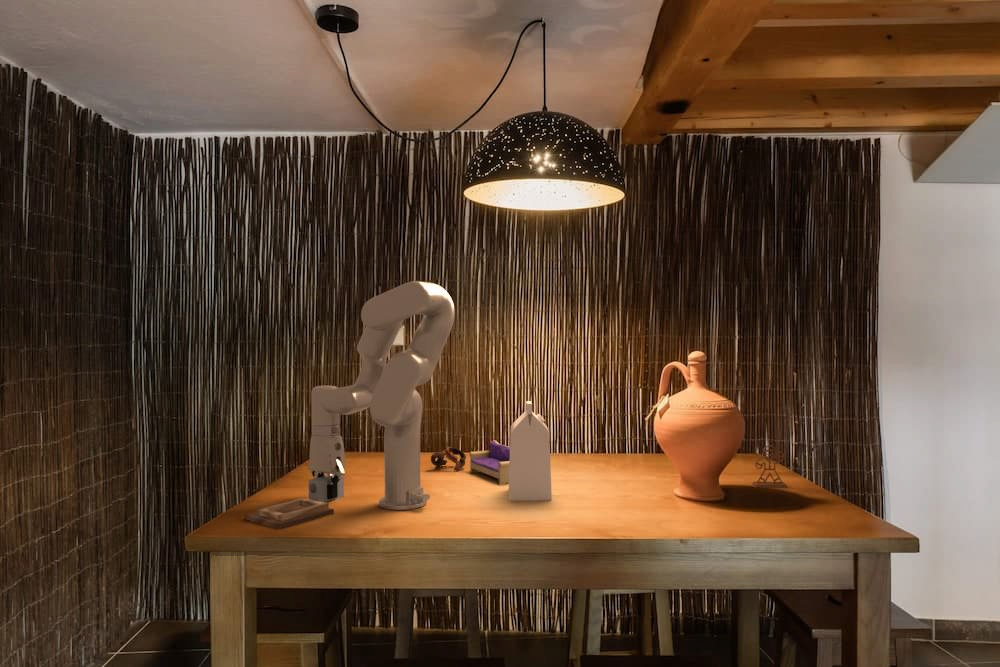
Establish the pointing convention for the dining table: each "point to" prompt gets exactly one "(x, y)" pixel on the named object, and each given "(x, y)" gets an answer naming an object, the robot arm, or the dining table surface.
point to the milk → (529, 458)
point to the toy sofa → (492, 461)
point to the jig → (290, 513)
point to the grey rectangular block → (323, 489)
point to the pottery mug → (450, 456)
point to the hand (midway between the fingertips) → (326, 496)
